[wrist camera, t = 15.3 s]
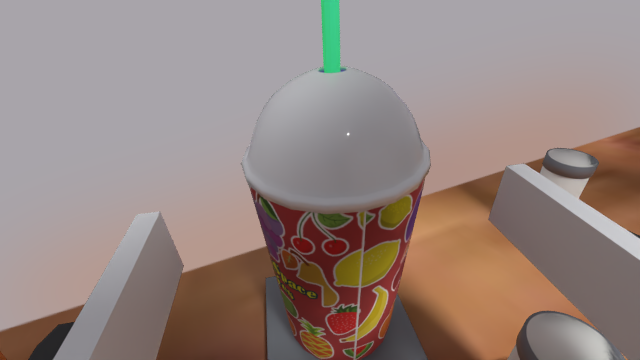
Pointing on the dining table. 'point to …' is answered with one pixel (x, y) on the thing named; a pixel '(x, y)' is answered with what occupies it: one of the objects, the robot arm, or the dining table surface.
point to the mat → (289, 356)
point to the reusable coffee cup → (2, 356)
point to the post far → (569, 169)
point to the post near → (561, 340)
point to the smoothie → (337, 199)
